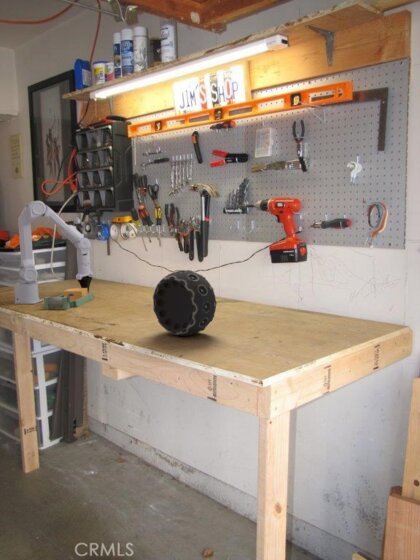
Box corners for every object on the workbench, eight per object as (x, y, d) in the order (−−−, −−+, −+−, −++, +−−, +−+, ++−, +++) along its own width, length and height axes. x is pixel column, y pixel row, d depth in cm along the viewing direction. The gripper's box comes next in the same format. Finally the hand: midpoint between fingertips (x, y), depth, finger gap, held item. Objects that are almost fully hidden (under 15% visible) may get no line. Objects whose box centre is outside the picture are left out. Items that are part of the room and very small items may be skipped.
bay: (39, 309, 205) (38, 294, 204) (66, 298, 229) (65, 284, 228) (72, 309, 203) (71, 294, 202) (95, 298, 226) (94, 284, 225)
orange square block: (64, 302, 220) (63, 291, 219) (70, 299, 228) (69, 288, 227) (82, 302, 219) (81, 291, 219) (88, 299, 227) (87, 287, 227)
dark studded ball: (173, 326, 169) (171, 267, 166) (221, 335, 157) (219, 270, 154) (150, 333, 161) (147, 271, 158) (198, 343, 149) (196, 275, 146)
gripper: (85, 265, 224) (87, 295, 226) (98, 261, 238) (99, 290, 240) (70, 265, 225) (72, 295, 227) (83, 261, 239) (85, 290, 241)
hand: (85, 292), depth 234 cm, fingers closed
